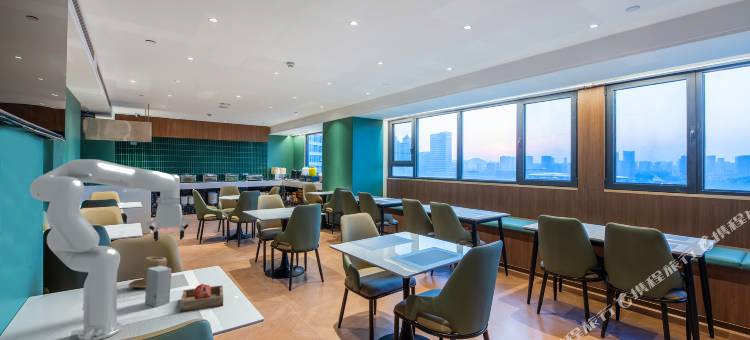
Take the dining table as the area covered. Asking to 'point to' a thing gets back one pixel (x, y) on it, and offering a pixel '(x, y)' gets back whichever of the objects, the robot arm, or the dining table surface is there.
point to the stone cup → (147, 263)
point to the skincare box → (158, 286)
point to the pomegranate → (202, 291)
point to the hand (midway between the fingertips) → (169, 239)
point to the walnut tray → (201, 300)
